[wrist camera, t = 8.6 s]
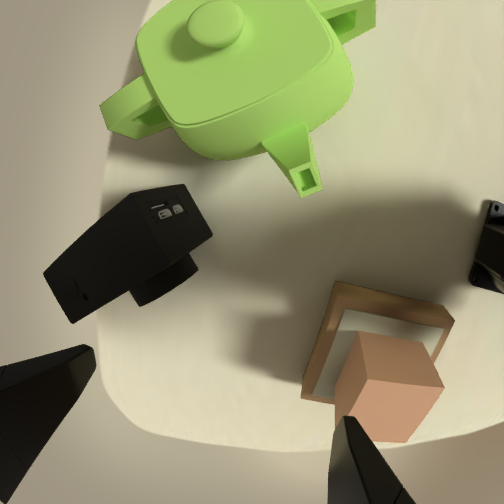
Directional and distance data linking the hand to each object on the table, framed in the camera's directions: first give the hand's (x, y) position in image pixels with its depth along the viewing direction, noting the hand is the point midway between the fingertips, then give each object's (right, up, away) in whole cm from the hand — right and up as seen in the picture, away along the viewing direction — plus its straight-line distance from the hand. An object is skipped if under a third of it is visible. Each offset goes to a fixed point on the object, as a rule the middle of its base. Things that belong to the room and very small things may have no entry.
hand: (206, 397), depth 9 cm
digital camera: (-6, +5, +14) cm, 16 cm away
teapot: (+2, +16, +9) cm, 18 cm away
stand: (+11, -3, +12) cm, 16 cm away
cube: (+10, -3, +10) cm, 14 cm away
